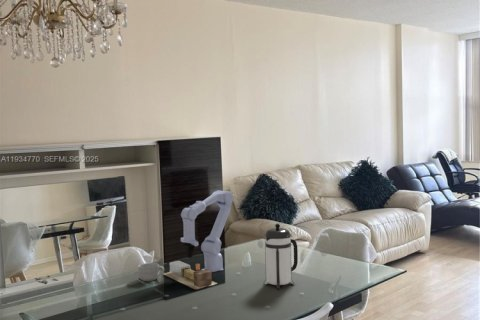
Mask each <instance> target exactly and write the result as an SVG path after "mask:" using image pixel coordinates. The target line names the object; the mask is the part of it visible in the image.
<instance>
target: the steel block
mask: <svg viewBox="0 0 480 320" xmlns="http://www.w3.org/2000/svg"><path fill="white" fill-rule="evenodd" d="M185 268H189V269H191V270H192V268H191V265H190V264H189V263H186V262H183V261H181V260H174V261H171V262H169V272H170V273H171V274H173V275H176V276H178V277H180V278H184V277H186V276H184V275H183V269H185Z"/></svg>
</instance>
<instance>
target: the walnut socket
mask: <svg viewBox="0 0 480 320" xmlns="http://www.w3.org/2000/svg"><path fill="white" fill-rule="evenodd" d="M203 269H204V270H202V269H200V271H196V270H195V271H196V272H194V285H195V286H197V287H199V288H200V287H203V288H205V287H204V286H207V285H211V284H212V281H213V280H212V279H213V278H212V272H211V271H209V270H207V269H205V268H203ZM211 286H212V285H211ZM207 287H208V286H207ZM200 289H201V288H200Z"/></svg>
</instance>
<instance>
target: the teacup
mask: <svg viewBox="0 0 480 320" xmlns="http://www.w3.org/2000/svg"><path fill="white" fill-rule="evenodd" d="M160 269H161V270H162V271H161V272H160ZM137 270H138V271H137V272H138V273H137V274H138V277H139V279H140V280H141V281H142V282H143V281H144V282H153V281H156V279H158V278H160V277H161V275H164V274H163V273H165V267H164V266H162V265H160V264H159V263H157V262H148V263H147V262H145V263H142V264H141V263H140V264H139V265H137Z"/></svg>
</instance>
